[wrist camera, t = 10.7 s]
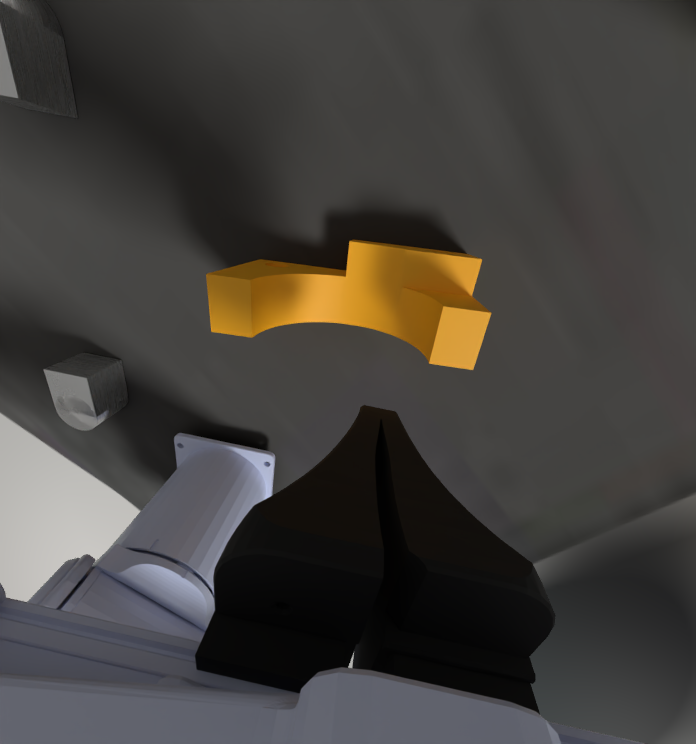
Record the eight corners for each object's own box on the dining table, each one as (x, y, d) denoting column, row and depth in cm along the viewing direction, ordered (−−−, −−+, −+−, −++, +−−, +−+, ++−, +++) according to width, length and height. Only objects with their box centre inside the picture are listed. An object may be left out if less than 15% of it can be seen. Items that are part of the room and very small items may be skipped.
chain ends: (131, 411, 25) (100, 434, 22) (95, 404, 25) (61, 425, 23) (55, -6, 14) (-20, -59, 12) (-5, -17, 15) (-94, -71, 12)
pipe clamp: (466, 253, 17) (506, 267, 12) (447, 326, 19) (472, 369, 14) (261, 227, 18) (202, 228, 12) (261, 300, 20) (211, 331, 14)
